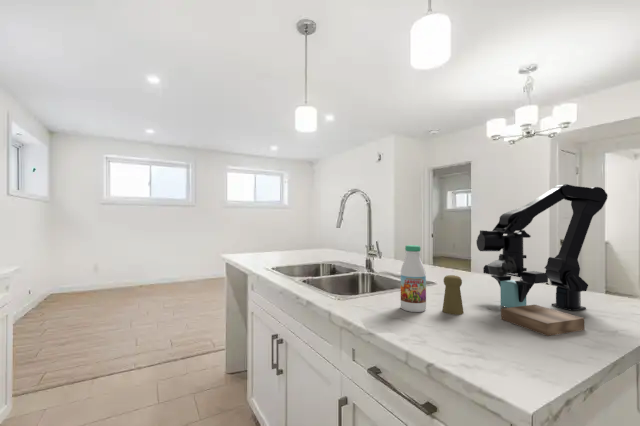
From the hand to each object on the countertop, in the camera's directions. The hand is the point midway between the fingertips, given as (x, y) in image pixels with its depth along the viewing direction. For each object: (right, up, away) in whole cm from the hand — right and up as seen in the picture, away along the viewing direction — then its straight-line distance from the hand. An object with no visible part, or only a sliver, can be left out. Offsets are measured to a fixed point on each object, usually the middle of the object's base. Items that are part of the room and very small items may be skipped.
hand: (513, 299), depth 99 cm
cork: (-22, -2, -5) cm, 22 cm away
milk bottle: (-33, -3, -2) cm, 33 cm away
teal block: (0, -2, 0) cm, 2 cm away
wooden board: (-3, -2, -16) cm, 16 cm away
